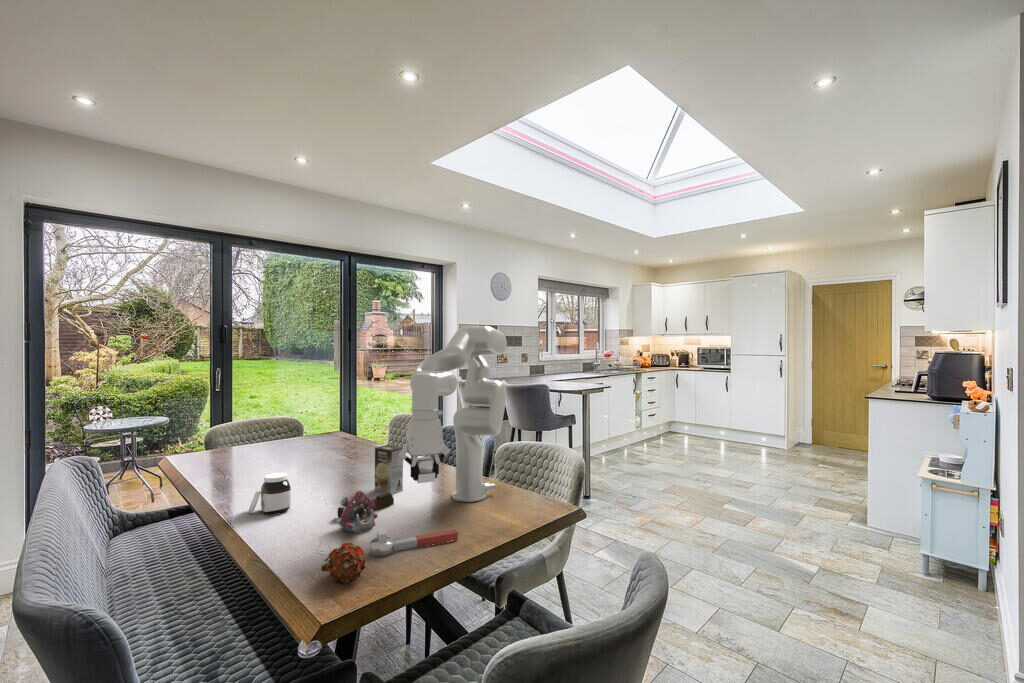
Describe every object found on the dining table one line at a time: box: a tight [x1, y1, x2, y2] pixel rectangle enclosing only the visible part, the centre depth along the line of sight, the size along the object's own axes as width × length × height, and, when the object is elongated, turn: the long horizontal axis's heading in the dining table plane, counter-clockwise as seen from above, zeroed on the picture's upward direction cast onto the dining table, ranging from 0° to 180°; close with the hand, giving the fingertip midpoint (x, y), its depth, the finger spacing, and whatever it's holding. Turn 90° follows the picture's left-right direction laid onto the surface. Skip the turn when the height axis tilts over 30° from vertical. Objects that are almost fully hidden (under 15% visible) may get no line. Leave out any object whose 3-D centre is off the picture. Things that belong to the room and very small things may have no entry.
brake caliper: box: [335, 490, 379, 534], centre depth 134 cm, size 11×11×12 cm
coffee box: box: [374, 444, 404, 495], centre depth 168 cm, size 9×6×16 cm
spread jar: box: [247, 472, 292, 516], centre depth 146 cm, size 12×11×12 cm
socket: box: [416, 456, 436, 484], centre depth 130 cm, size 5×5×6 cm
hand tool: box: [337, 493, 395, 518], centre depth 146 cm, size 19×4×5 cm, turn 134°
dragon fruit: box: [320, 542, 367, 584], centre depth 104 cm, size 8×8×12 cm
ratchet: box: [369, 528, 459, 559], centre depth 121 cm, size 23×6×5 cm, turn 115°
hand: (424, 477), depth 130 cm, fingers closed on socket, 5 cm apart
